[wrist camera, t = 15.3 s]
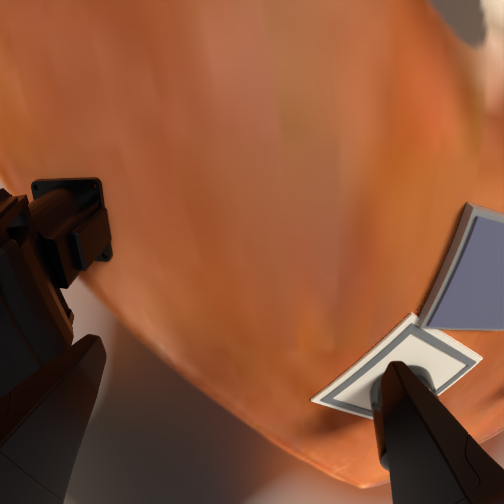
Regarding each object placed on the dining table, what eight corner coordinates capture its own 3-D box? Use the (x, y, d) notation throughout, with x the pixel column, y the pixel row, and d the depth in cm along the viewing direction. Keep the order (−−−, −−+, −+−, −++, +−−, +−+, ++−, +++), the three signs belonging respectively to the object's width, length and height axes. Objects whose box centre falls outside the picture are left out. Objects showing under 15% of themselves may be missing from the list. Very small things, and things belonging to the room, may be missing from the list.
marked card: (310, 398, 31) (310, 402, 30) (411, 311, 24) (412, 315, 24) (395, 423, 34) (395, 426, 33) (481, 356, 27) (483, 360, 27)
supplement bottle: (415, 352, 26) (450, 464, 16) (437, 379, 28) (467, 474, 18) (355, 386, 29) (371, 496, 19) (384, 408, 31) (401, 502, 21)
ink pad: (416, 320, 25) (421, 330, 24) (466, 202, 19) (475, 209, 18) (499, 324, 25) (504, 332, 24) (547, 228, 19) (555, 235, 18)
